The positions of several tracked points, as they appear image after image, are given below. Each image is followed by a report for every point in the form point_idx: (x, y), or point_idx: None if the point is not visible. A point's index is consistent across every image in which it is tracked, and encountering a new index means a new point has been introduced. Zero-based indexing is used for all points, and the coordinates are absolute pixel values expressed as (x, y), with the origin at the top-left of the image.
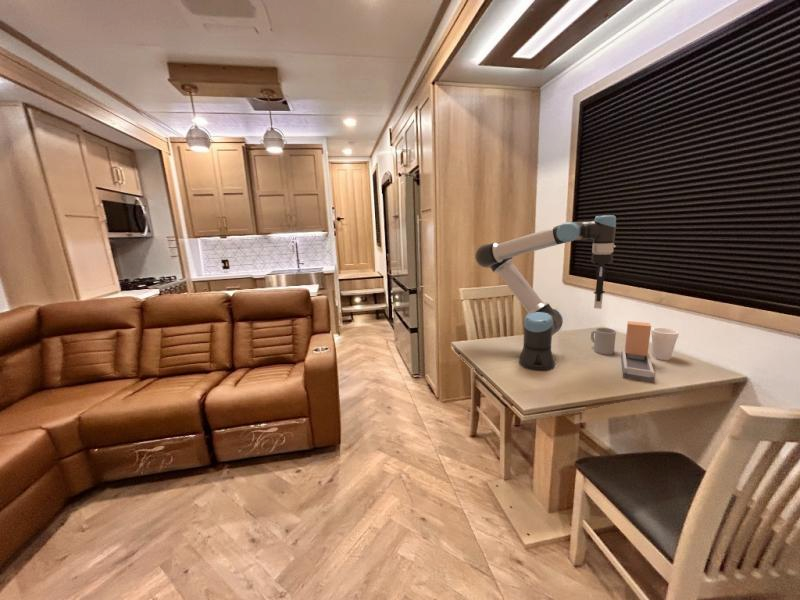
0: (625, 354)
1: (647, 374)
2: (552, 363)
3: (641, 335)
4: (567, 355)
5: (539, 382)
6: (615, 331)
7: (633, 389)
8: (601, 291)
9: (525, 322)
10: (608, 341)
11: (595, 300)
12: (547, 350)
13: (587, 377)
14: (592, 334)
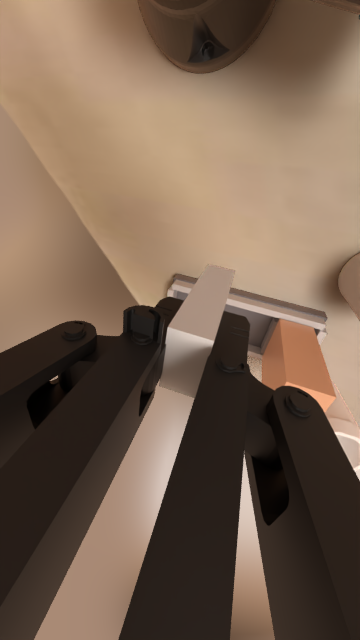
0: (272, 316)
1: None
2: (171, 56)
3: (268, 383)
4: (329, 133)
5: (63, 22)
6: None
7: (127, 276)
8: (55, 380)
9: None
10: (352, 298)
11: (190, 294)
12: None
13: (151, 189)
14: None
